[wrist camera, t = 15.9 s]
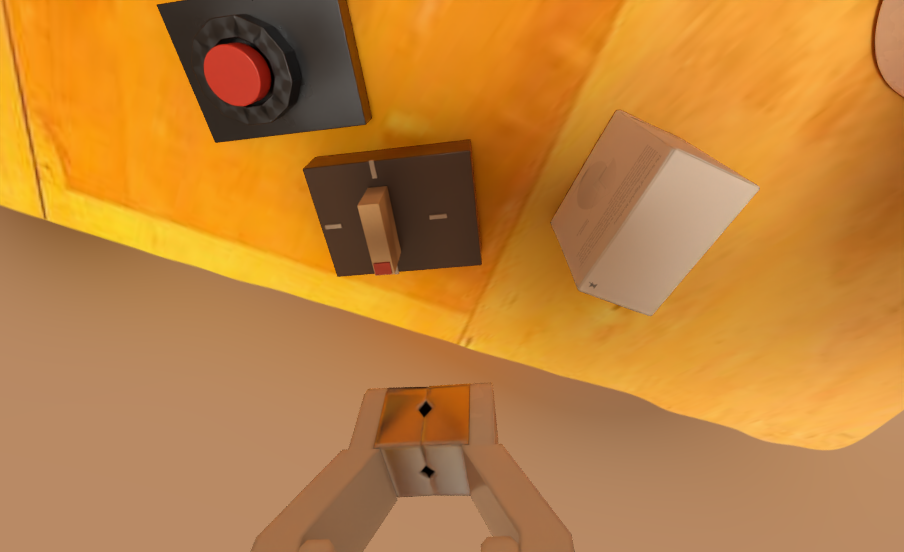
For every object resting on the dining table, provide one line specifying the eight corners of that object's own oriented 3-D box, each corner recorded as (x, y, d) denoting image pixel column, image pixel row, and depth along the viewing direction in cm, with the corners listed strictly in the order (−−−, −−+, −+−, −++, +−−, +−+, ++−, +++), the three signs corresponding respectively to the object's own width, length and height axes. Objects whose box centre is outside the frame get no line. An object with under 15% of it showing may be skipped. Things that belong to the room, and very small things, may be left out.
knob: (367, 187, 33) (355, 206, 29) (387, 185, 32) (378, 204, 29) (383, 253, 36) (374, 277, 33) (401, 252, 36) (394, 276, 33)
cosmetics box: (611, 247, 38) (653, 321, 29) (548, 222, 37) (572, 290, 28) (688, 139, 32) (767, 189, 24) (617, 106, 31) (672, 146, 23)
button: (260, 38, 27) (247, 40, 25) (279, 98, 29) (268, 103, 27) (208, 46, 27) (192, 48, 26) (230, 104, 29) (217, 109, 28)
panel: (470, 138, 33) (470, 149, 31) (481, 249, 39) (481, 267, 36) (314, 155, 35) (300, 168, 32) (346, 260, 40) (337, 279, 37)
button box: (341, -22, 28) (323, -26, 24) (372, 117, 33) (360, 130, 29) (176, 4, 29) (137, 4, 26) (229, 135, 34) (202, 149, 31)
